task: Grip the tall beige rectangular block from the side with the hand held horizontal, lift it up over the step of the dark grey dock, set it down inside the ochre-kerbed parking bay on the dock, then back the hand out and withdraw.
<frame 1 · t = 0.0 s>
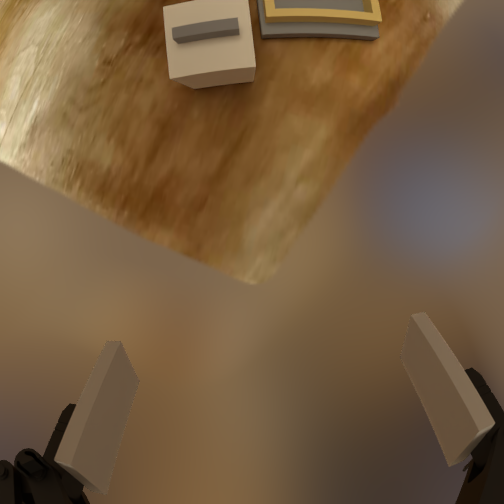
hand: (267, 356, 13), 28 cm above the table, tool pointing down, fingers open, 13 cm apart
beige rectangular block: (220, 57, 31), on the table
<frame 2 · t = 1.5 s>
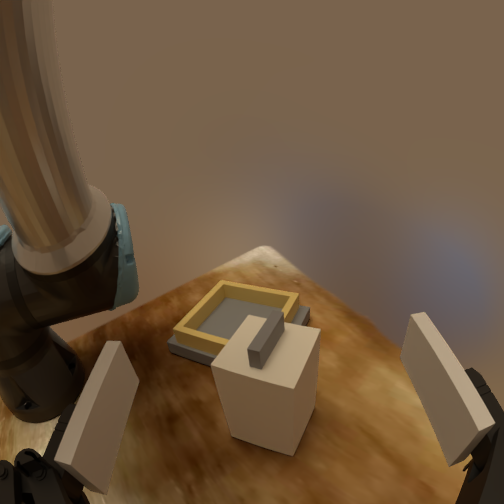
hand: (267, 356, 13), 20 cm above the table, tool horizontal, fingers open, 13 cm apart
dock: (241, 335, 44), on the table
beige rectangular block: (274, 422, 30), on the table
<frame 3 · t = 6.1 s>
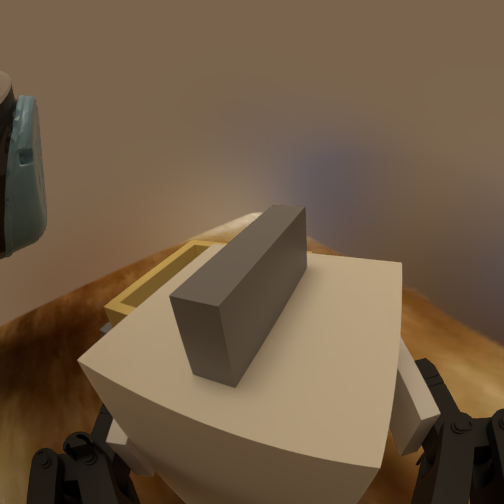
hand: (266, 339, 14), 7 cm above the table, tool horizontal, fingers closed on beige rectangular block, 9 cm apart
dock: (221, 322, 27), on the table
beige rectangular block: (278, 482, 13), on the table, touching gripper
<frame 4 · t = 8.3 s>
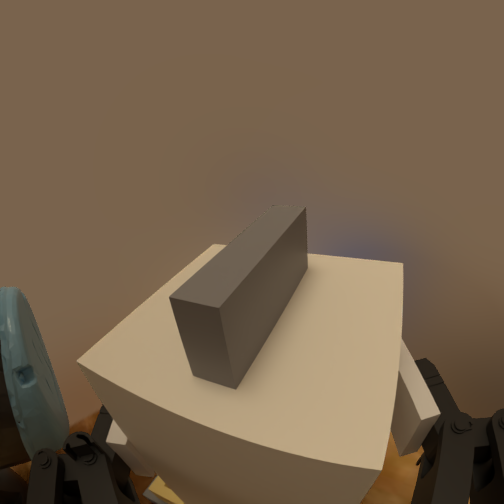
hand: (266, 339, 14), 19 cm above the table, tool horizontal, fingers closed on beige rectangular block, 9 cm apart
dock: (258, 478, 23), on the table
beige rectangular block: (279, 483, 13), point 12 cm above the table, touching gripper
when the fingers open (10 cm above the table, at t = 10.8 s): beige rectangular block drops 1 cm, resting on dock.
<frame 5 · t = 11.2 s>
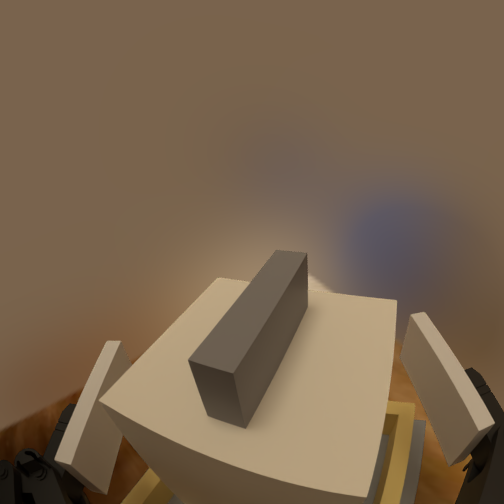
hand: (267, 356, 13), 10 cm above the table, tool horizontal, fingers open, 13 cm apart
dock: (280, 499, 14), on the table
beige rectangular block: (280, 491, 14), point 2 cm above the table, touching dock
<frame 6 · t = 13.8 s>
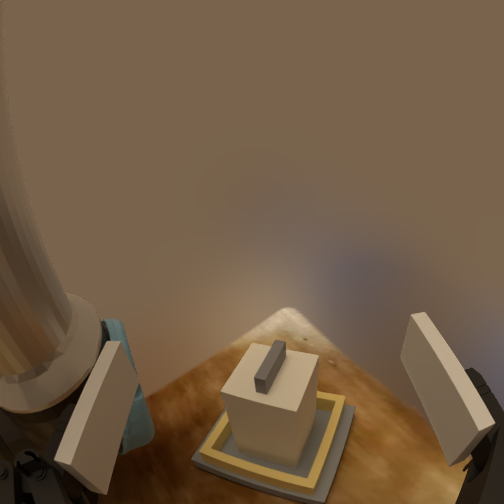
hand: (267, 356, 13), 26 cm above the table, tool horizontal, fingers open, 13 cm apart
dock: (278, 444, 33), on the table
beige rectangular block: (277, 437, 32), point 2 cm above the table, touching dock
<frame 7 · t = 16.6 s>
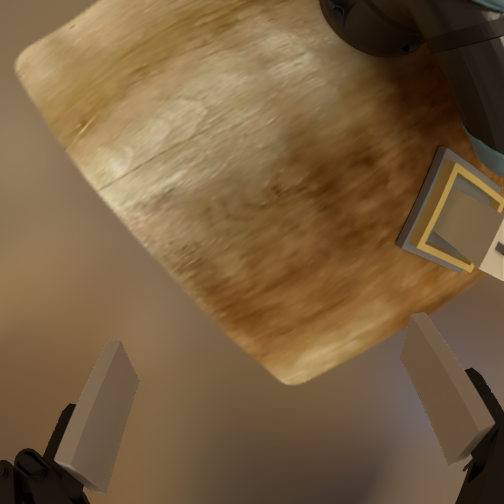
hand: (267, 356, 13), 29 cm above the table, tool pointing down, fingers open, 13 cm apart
dock: (450, 211, 40), on the table
beige rectangular block: (456, 216, 38), point 2 cm above the table, touching dock
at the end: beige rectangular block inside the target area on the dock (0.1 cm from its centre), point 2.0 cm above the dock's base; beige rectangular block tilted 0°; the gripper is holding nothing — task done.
